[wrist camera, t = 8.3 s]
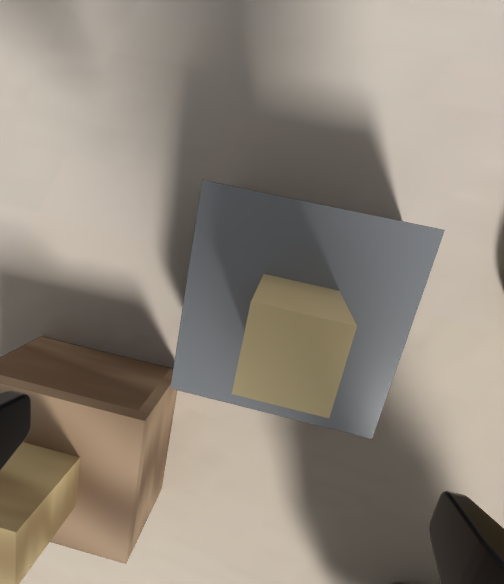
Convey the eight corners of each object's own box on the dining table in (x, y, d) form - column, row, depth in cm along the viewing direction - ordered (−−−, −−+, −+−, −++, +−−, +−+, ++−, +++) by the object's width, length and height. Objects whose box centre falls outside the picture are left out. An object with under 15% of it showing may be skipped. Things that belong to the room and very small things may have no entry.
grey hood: (353, 381, 19) (398, 522, 11) (200, 344, 20) (127, 450, 11) (403, 222, 17) (512, 241, 8) (227, 186, 18) (162, 169, 9)
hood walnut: (161, 489, 23) (80, 660, 14) (36, 455, 24) (-113, 599, 15) (180, 370, 21) (96, 490, 12) (41, 336, 21) (-134, 427, 13)
